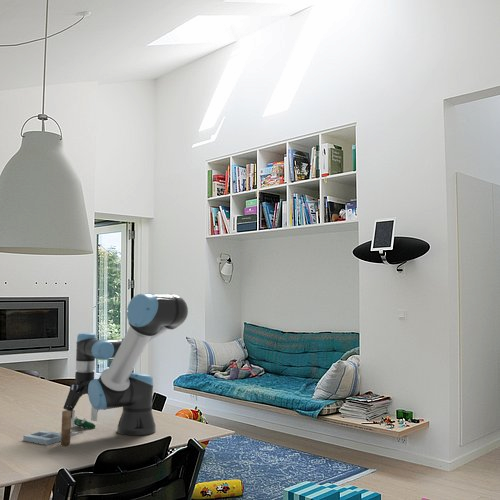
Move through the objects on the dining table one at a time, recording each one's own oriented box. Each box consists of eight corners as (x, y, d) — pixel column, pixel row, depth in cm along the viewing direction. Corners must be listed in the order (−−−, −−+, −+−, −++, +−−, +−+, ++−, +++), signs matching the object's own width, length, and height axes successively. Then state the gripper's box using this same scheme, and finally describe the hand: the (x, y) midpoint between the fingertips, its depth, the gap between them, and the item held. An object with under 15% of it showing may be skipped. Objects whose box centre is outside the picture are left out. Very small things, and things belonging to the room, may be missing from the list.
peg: (71, 444, 225) (73, 411, 226) (65, 446, 222) (67, 412, 223) (65, 443, 226) (66, 410, 227) (58, 445, 224) (60, 411, 224)
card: (83, 432, 243) (83, 432, 243) (65, 437, 235) (65, 437, 235) (74, 430, 246) (74, 430, 246) (56, 435, 237) (57, 435, 237)
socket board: (67, 439, 232) (67, 434, 232) (46, 445, 223) (47, 440, 223) (43, 435, 237) (43, 430, 237) (23, 440, 229) (23, 435, 229)
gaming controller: (76, 430, 255) (68, 421, 252) (82, 422, 258) (74, 413, 254) (91, 433, 250) (83, 425, 247) (96, 426, 252) (88, 417, 249)
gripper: (98, 367, 266) (96, 417, 265) (55, 373, 244) (53, 428, 243) (112, 368, 263) (110, 419, 261) (70, 375, 241) (67, 430, 239)
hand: (82, 423), depth 252 cm, fingers open, 13 cm apart
